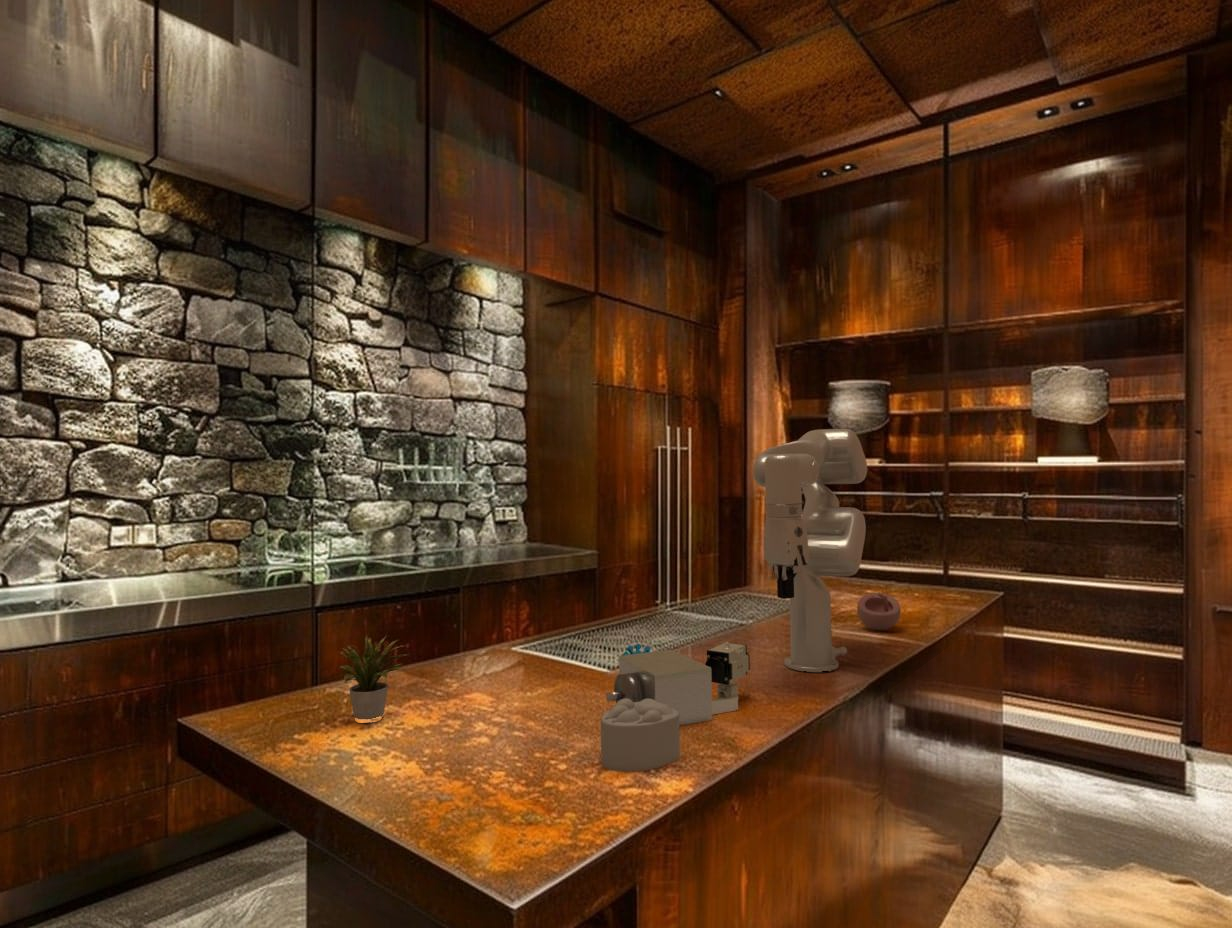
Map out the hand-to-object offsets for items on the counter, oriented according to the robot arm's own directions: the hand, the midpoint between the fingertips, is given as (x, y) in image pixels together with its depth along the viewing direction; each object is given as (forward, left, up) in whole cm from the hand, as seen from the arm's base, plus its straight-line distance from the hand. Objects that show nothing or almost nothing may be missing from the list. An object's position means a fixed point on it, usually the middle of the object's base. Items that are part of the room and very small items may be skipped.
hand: (785, 597), depth 151 cm
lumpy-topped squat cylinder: (+44, +18, -20) cm, 52 cm away
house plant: (+83, -20, -20) cm, 88 cm away
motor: (+30, 0, -20) cm, 36 cm away
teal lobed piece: (+23, -21, -20) cm, 38 cm away
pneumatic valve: (+15, 0, -20) cm, 25 cm away
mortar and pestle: (-62, -37, -20) cm, 75 cm away
